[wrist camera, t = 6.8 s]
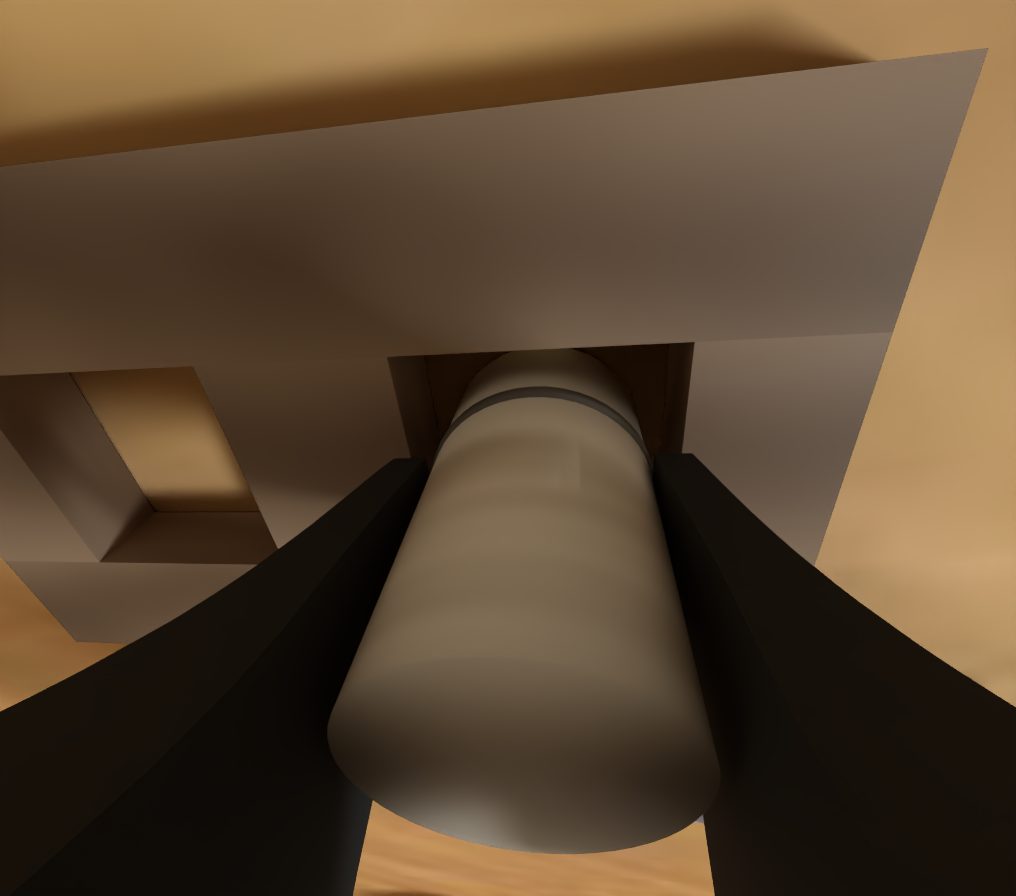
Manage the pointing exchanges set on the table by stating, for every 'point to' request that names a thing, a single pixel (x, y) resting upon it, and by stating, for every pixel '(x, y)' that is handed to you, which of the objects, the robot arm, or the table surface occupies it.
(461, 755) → the peg
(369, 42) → the table surface
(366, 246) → the board
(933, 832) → the robot arm
